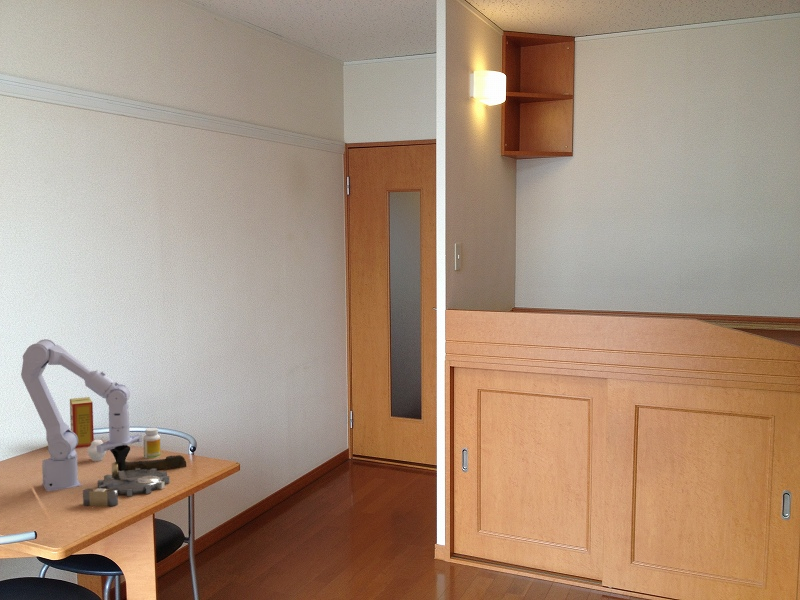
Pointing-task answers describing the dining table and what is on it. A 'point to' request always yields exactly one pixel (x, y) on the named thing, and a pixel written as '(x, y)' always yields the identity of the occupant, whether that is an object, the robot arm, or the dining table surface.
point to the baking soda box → (82, 420)
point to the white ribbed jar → (95, 451)
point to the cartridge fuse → (100, 497)
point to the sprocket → (134, 480)
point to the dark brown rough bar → (157, 463)
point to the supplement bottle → (152, 443)
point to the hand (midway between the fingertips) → (120, 470)
